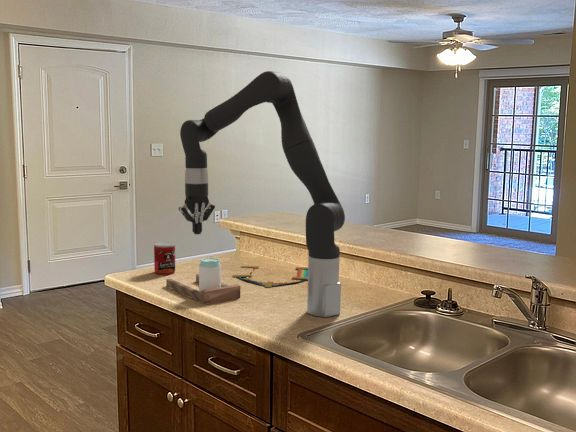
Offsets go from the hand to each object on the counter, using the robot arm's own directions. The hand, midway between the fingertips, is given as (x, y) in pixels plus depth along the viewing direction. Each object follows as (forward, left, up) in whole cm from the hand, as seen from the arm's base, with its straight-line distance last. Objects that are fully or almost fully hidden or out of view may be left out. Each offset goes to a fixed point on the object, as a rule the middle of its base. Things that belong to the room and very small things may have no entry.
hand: (197, 233), depth 204 cm
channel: (-3, 0, -19) cm, 19 cm away
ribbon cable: (0, -31, -20) cm, 37 cm away
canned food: (+28, -2, -19) cm, 34 cm away
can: (-9, 0, -19) cm, 21 cm away
